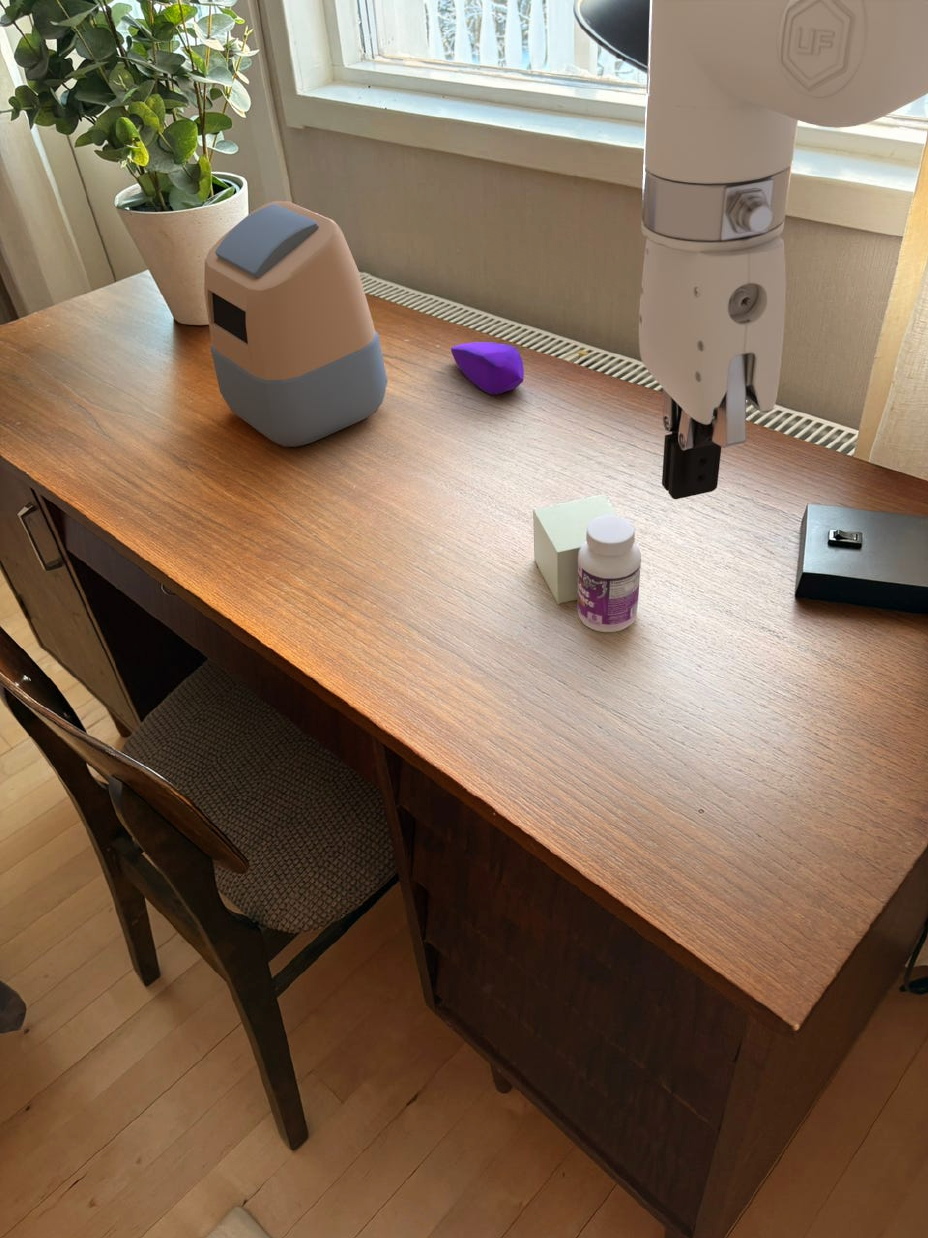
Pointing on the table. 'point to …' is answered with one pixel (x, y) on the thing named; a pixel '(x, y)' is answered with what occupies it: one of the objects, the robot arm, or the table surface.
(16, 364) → the table surface
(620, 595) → the pill bottle
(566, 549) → the sage block
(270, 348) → the alarm clock
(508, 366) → the crystal
